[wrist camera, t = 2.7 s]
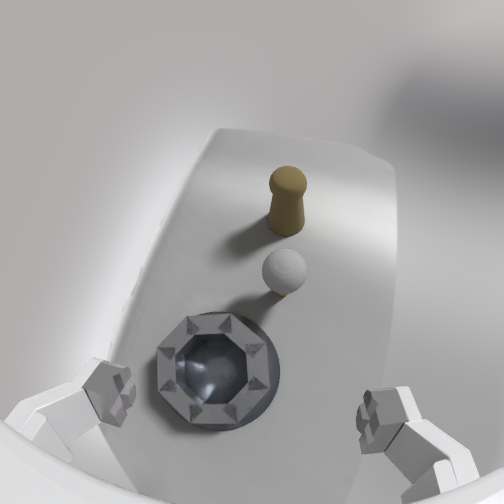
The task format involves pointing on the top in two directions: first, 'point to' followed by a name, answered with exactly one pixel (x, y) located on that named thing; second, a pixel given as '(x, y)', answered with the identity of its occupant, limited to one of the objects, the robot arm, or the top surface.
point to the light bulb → (284, 271)
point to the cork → (287, 200)
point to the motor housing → (218, 370)
